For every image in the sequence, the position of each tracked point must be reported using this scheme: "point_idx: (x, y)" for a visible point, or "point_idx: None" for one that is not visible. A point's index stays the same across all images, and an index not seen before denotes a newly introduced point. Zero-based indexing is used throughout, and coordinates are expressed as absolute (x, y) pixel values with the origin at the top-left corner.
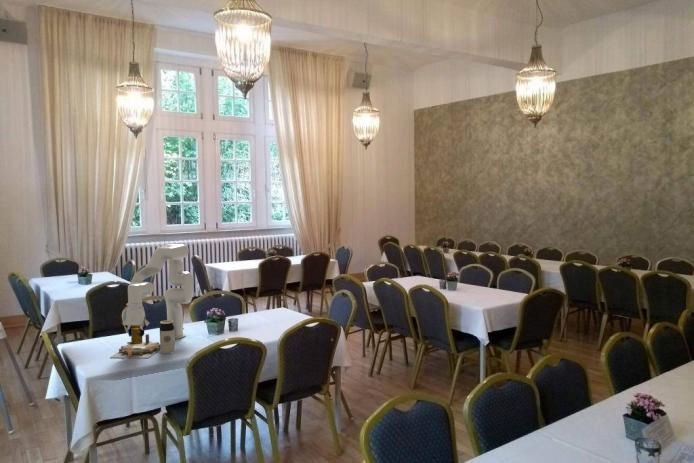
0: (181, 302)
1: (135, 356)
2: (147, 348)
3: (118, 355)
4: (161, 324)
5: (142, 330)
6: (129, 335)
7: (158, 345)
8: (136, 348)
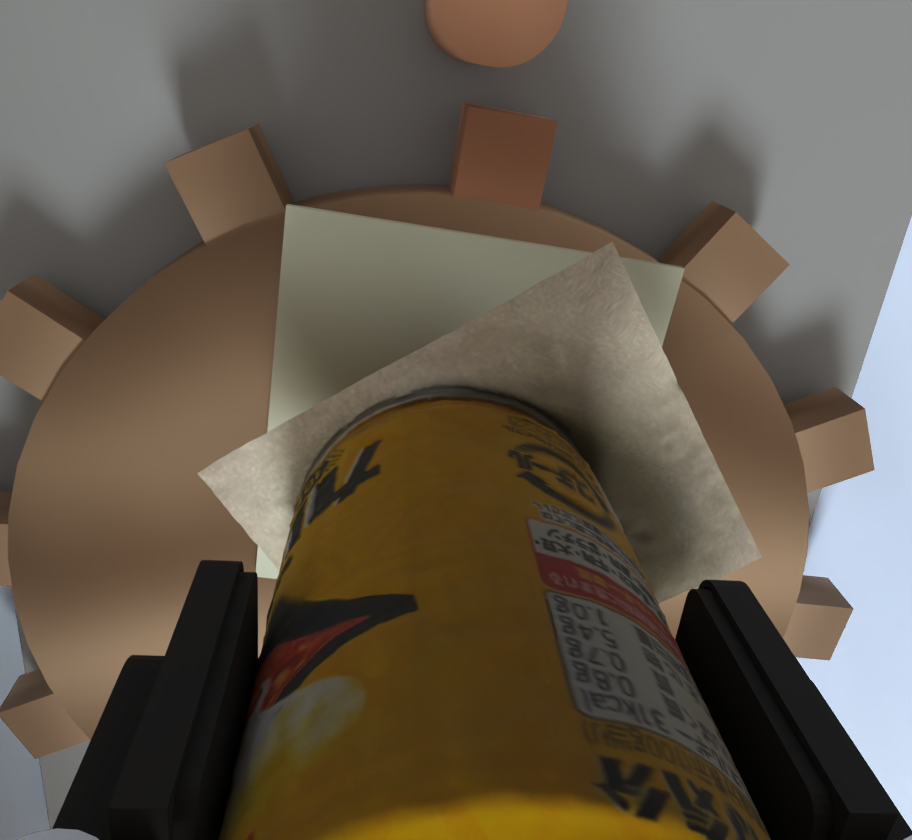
0: None
1: (335, 22)
2: (178, 450)
3: (799, 153)
4: None
5: (93, 826)
6: (735, 600)
7: (56, 687)
8: None
